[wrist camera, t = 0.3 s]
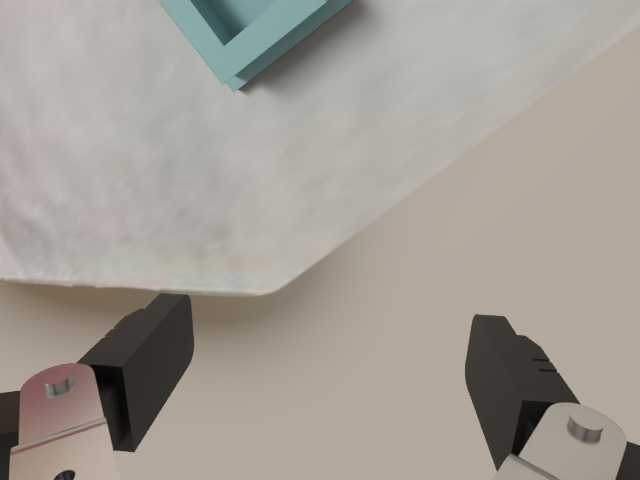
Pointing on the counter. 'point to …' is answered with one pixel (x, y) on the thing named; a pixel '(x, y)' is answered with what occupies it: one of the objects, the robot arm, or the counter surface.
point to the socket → (247, 31)
